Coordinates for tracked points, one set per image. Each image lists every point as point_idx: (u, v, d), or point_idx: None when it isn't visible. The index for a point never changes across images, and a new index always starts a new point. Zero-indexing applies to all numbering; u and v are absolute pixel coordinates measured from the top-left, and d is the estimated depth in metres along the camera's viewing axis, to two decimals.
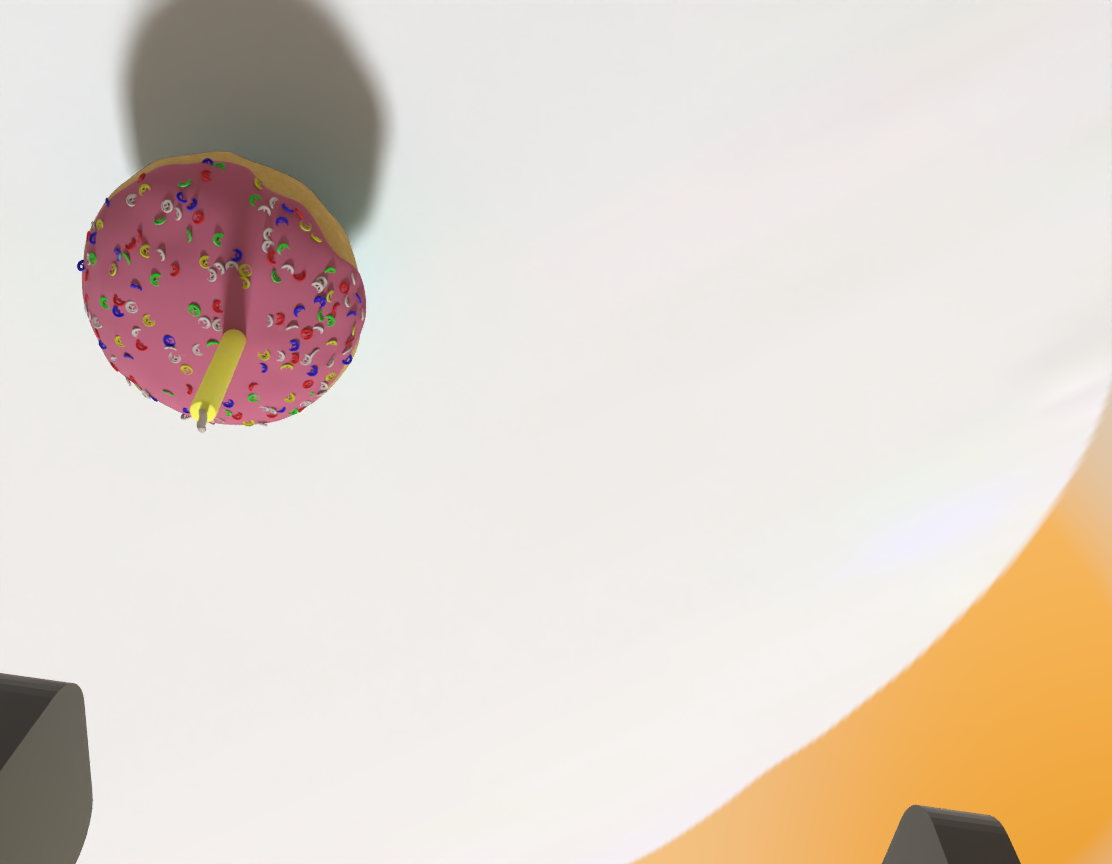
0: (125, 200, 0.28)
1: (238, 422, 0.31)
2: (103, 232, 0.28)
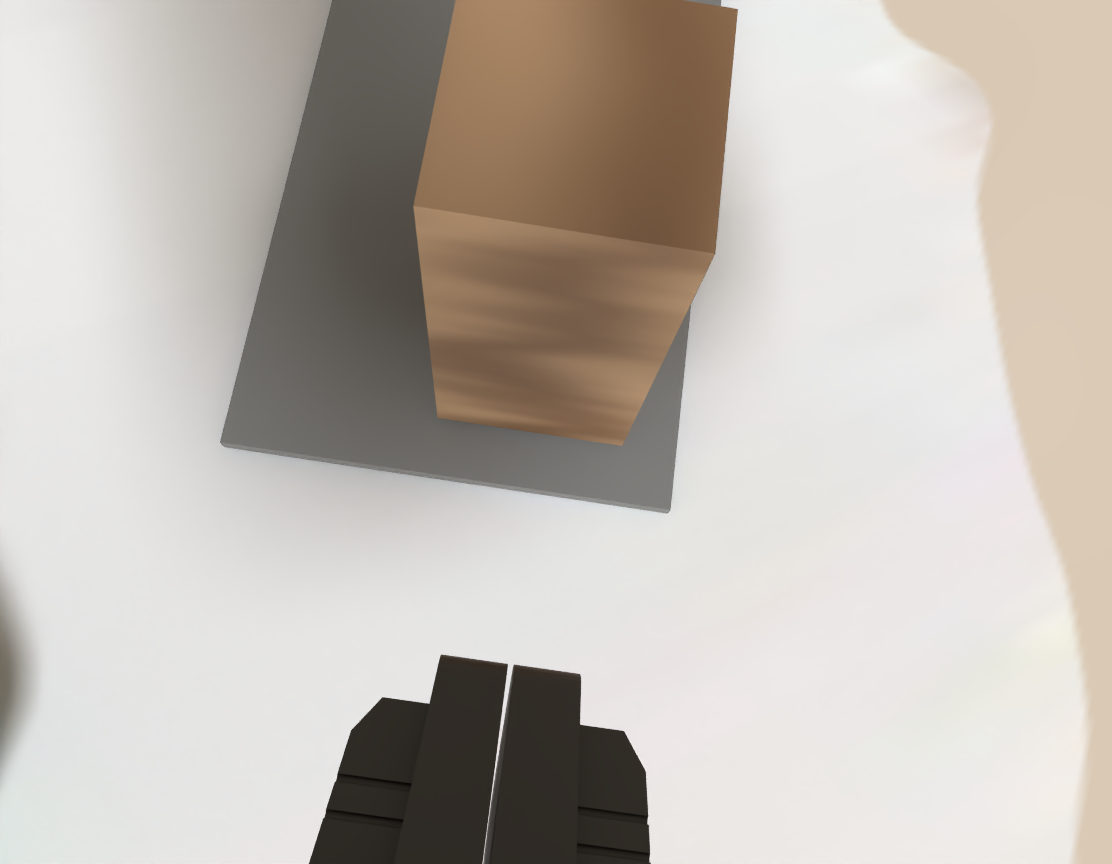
0: None
1: None
2: None
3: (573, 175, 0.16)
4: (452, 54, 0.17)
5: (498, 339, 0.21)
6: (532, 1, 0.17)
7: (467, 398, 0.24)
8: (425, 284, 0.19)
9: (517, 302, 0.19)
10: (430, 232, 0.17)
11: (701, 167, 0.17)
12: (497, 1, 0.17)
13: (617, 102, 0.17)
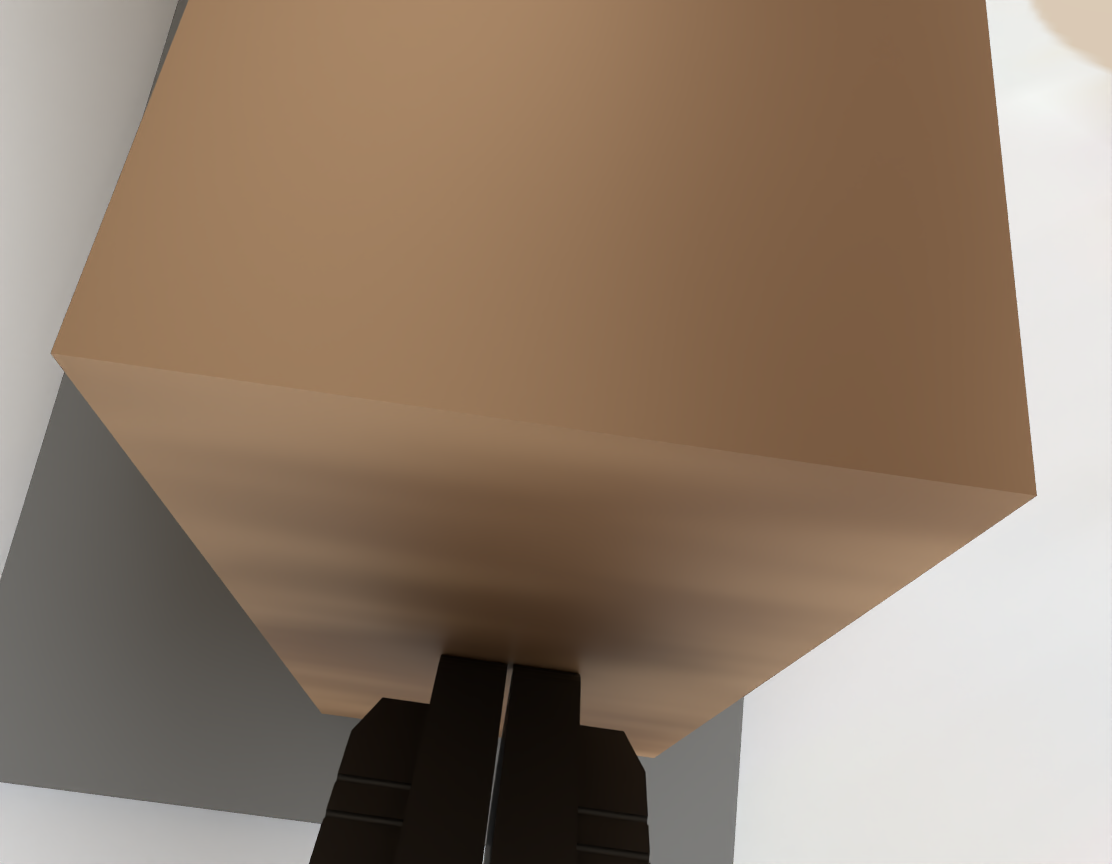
0: None
1: None
2: None
3: (576, 254, 0.05)
4: None
5: (402, 632, 0.09)
6: None
7: (366, 698, 0.13)
8: (199, 540, 0.07)
9: (433, 579, 0.08)
10: (147, 428, 0.06)
11: (949, 231, 0.06)
12: None
13: (694, 63, 0.06)
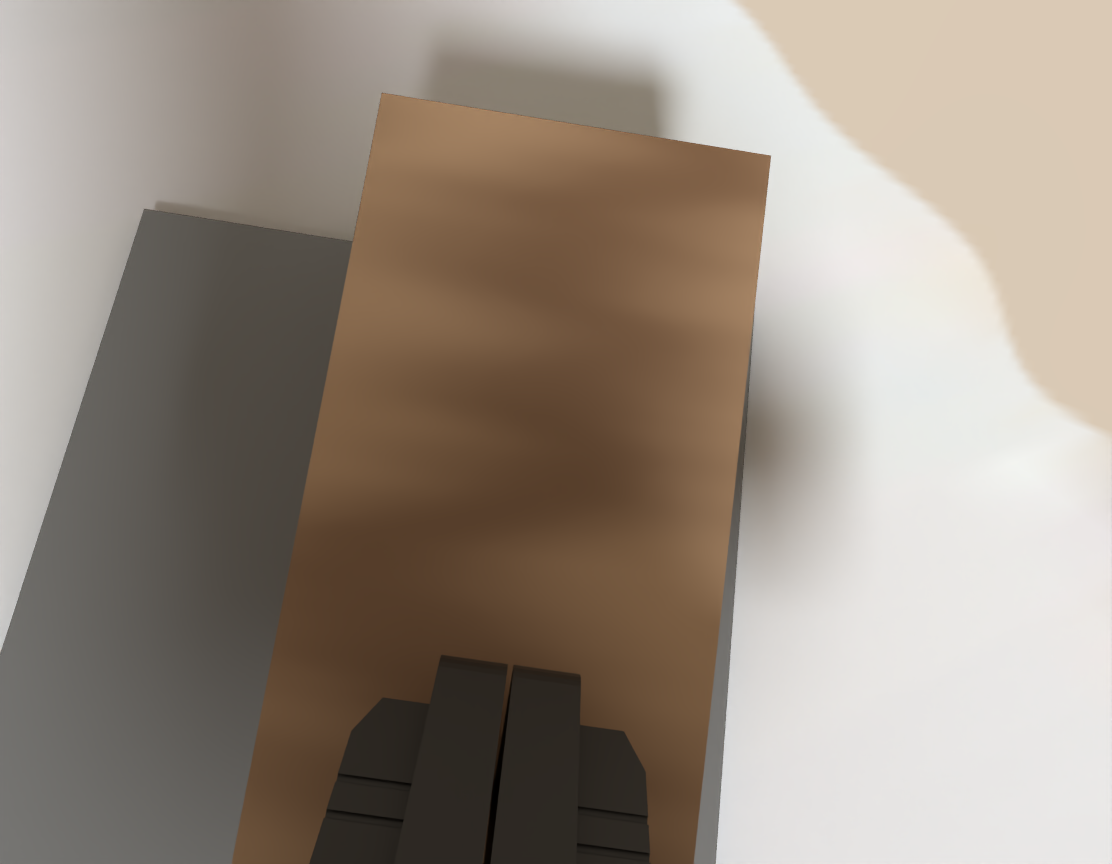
0: None
1: None
2: None
3: None
4: None
5: (436, 492, 0.12)
6: None
7: (313, 843, 0.11)
8: (345, 307, 0.12)
9: (489, 342, 0.12)
10: (390, 154, 0.12)
11: None
12: None
13: None
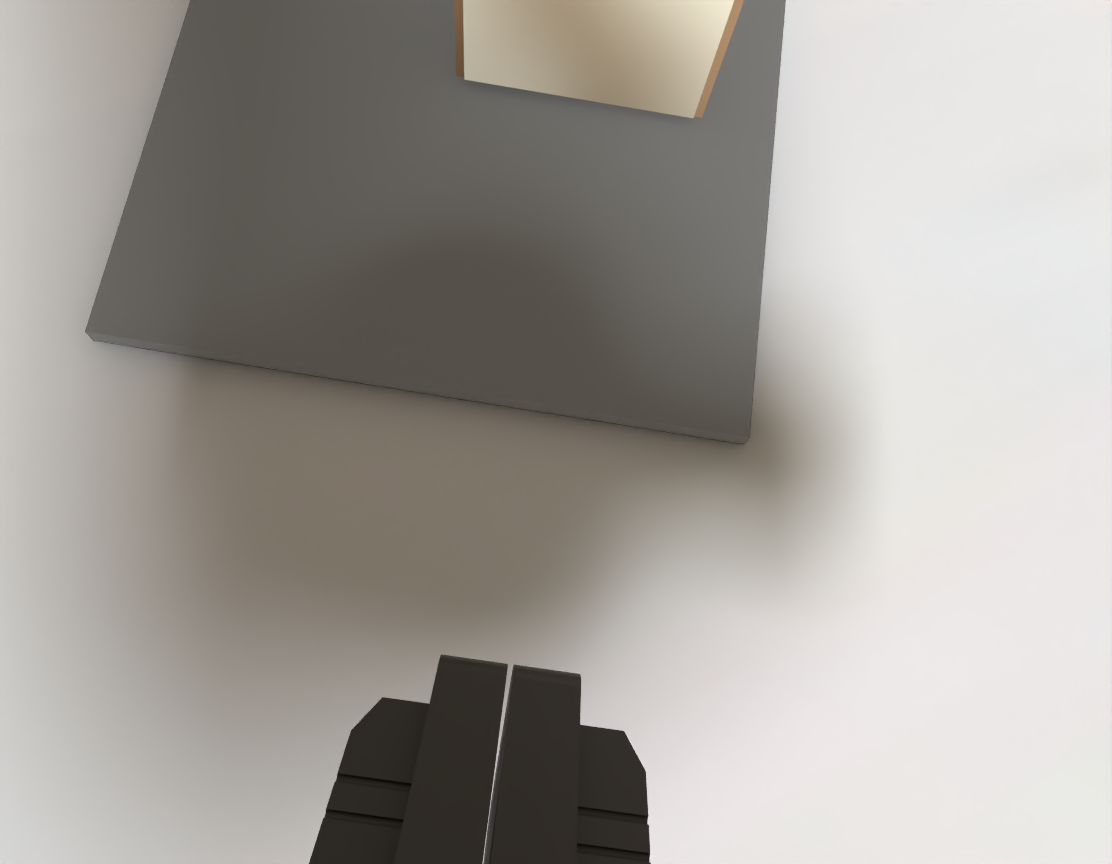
0: None
1: None
2: None
3: None
4: None
5: None
6: None
7: None
8: None
9: None
10: None
11: None
12: None
13: None
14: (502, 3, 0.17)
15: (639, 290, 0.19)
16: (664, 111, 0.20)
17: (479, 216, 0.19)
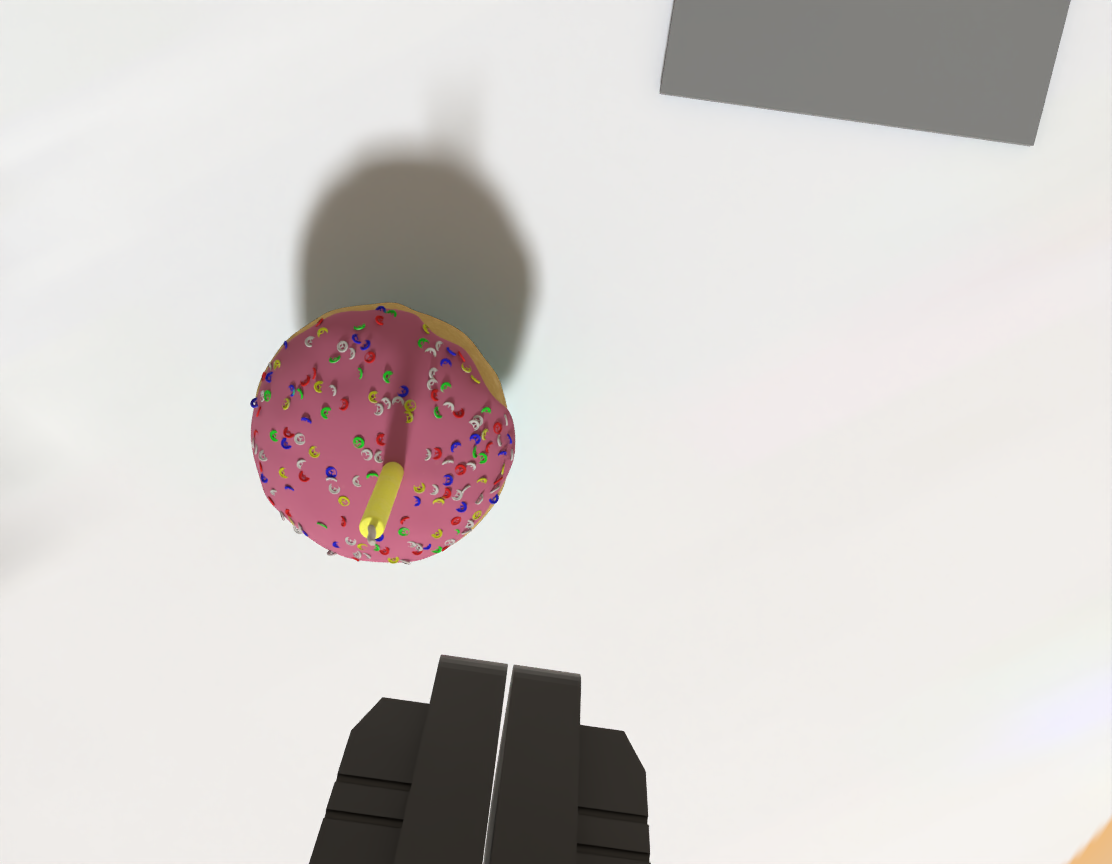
0: (303, 342, 0.30)
1: (383, 559, 0.32)
2: (280, 371, 0.30)
3: None
4: None
5: None
6: None
7: None
8: None
9: None
10: None
11: None
12: None
13: None
14: None
15: (979, 50, 0.31)
16: None
17: (883, 3, 0.31)
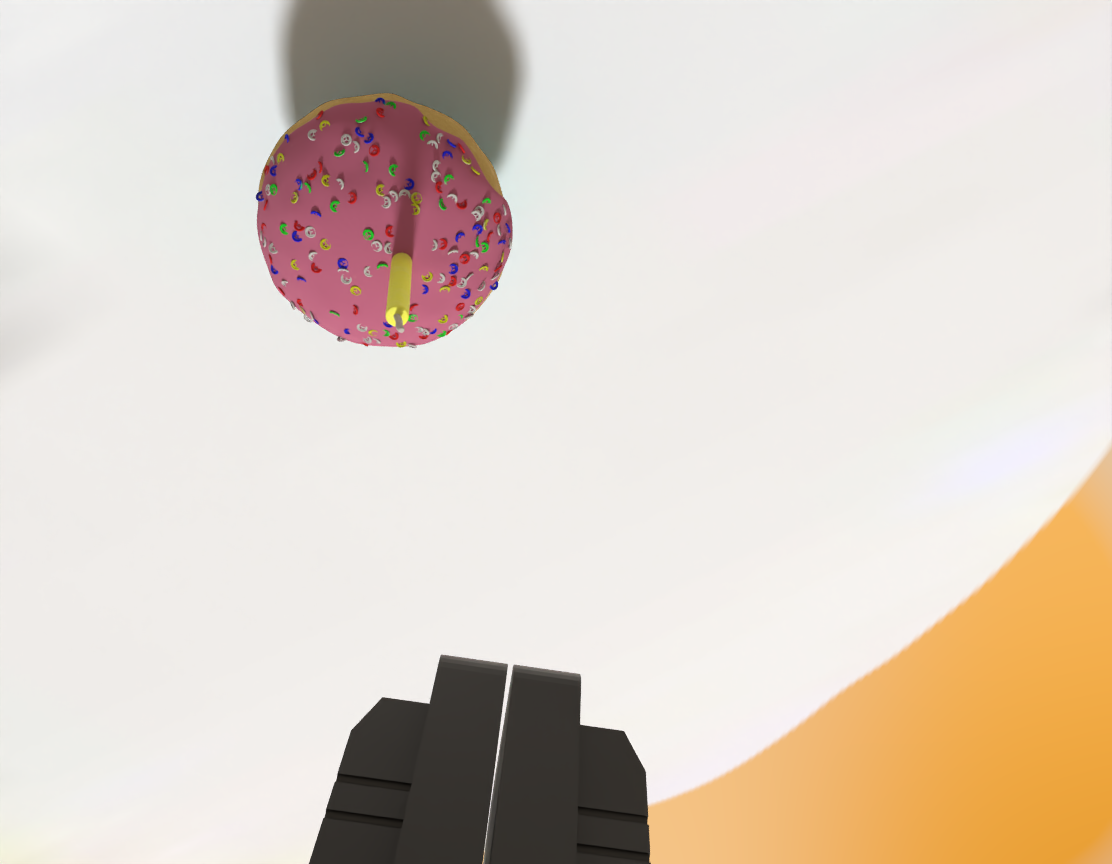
0: (306, 135, 0.31)
1: (392, 343, 0.34)
2: (284, 164, 0.31)
3: None
4: None
5: None
6: None
7: None
8: None
9: None
10: None
11: None
12: None
13: None
14: None
15: None
16: None
17: None
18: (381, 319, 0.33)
